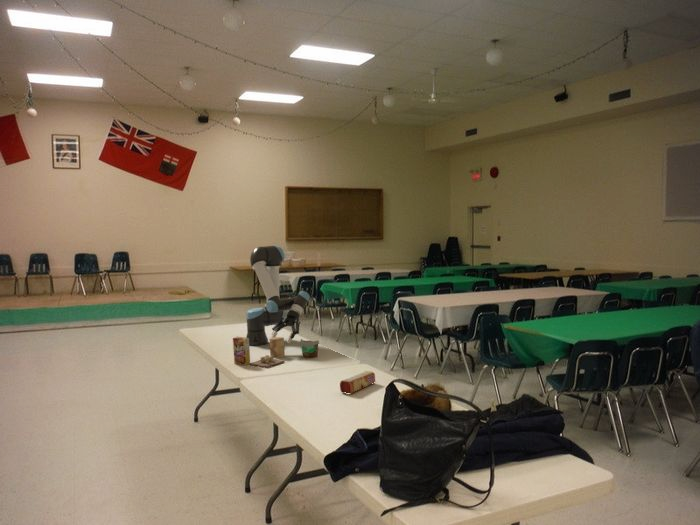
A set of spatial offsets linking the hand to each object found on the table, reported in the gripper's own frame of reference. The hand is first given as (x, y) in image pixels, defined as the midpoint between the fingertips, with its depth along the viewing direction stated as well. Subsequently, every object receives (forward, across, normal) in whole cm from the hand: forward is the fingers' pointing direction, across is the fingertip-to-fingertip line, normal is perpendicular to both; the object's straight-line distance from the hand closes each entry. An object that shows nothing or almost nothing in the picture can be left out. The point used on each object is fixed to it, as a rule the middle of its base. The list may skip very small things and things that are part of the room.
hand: (279, 341), depth 331 cm
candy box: (+24, -7, -11) cm, 27 cm away
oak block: (+7, 0, +5) cm, 9 cm away
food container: (+3, +18, +10) cm, 20 cm away
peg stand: (+19, +6, -6) cm, 21 cm away
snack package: (+29, +78, -15) cm, 85 cm away
